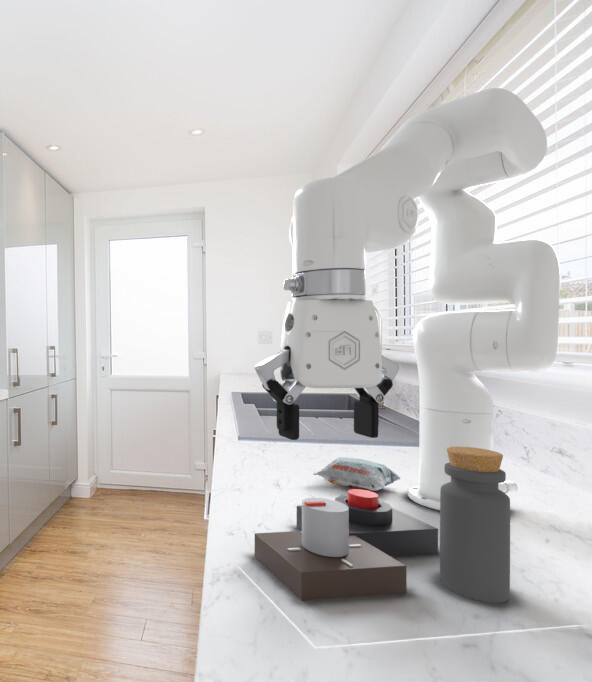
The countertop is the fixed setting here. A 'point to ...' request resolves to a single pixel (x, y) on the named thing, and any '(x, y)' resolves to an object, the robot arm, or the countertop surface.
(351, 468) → the packaged food
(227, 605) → the countertop surface
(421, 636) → the countertop surface
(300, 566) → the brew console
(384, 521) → the push button base
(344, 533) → the dial
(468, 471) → the bottle
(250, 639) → the countertop surface
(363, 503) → the power button
